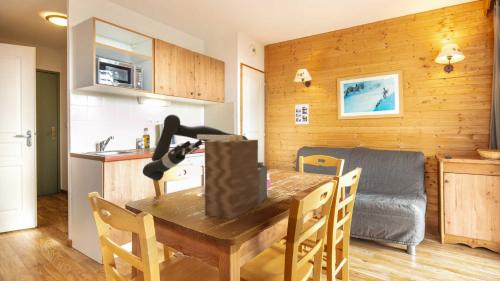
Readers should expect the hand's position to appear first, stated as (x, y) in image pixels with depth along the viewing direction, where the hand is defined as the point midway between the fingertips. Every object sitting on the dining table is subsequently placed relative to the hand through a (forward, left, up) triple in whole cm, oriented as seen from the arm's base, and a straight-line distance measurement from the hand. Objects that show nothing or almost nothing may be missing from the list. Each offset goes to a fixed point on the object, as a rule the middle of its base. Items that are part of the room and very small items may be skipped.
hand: (195, 142), depth 127 cm
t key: (-2, +12, +2) cm, 12 cm away
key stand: (-8, +16, -31) cm, 36 cm away
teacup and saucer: (-21, -13, -32) cm, 40 cm away
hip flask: (-29, +17, -31) cm, 46 cm away
